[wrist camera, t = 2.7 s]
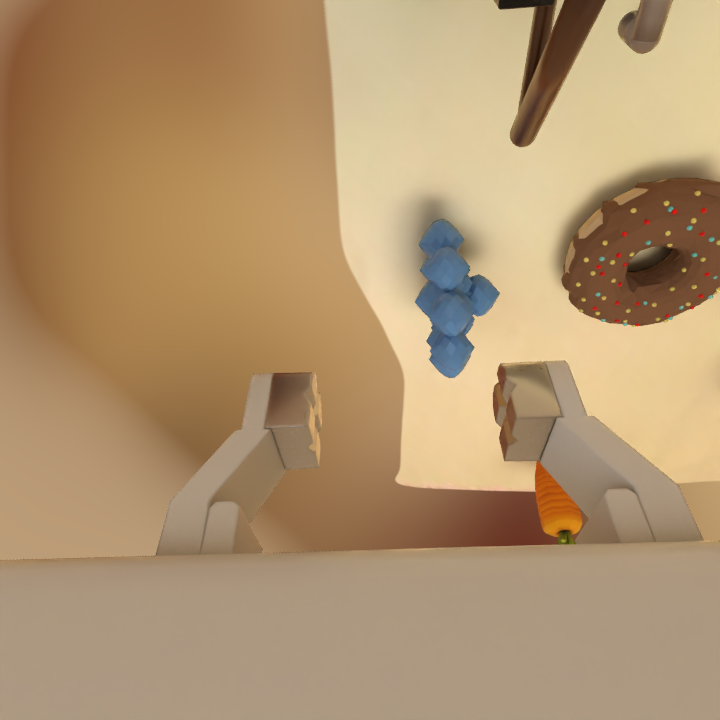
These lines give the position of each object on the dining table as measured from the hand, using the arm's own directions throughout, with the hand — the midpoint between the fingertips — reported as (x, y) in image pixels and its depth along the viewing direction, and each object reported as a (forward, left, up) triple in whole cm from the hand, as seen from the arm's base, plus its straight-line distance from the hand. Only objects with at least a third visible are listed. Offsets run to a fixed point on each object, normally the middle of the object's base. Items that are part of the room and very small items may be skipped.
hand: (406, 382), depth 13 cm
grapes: (+13, +14, -29) cm, 35 cm away
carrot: (+35, +44, -29) cm, 64 cm away
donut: (+4, +28, -29) cm, 41 cm away
